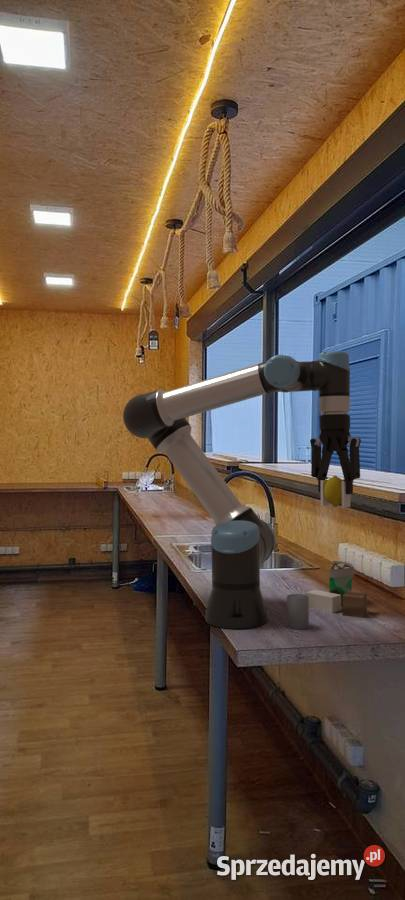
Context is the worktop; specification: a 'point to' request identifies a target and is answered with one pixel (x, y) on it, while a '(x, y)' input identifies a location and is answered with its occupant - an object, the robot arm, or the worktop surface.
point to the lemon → (333, 491)
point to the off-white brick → (324, 601)
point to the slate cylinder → (297, 611)
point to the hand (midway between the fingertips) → (335, 506)
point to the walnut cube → (354, 604)
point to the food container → (341, 578)
